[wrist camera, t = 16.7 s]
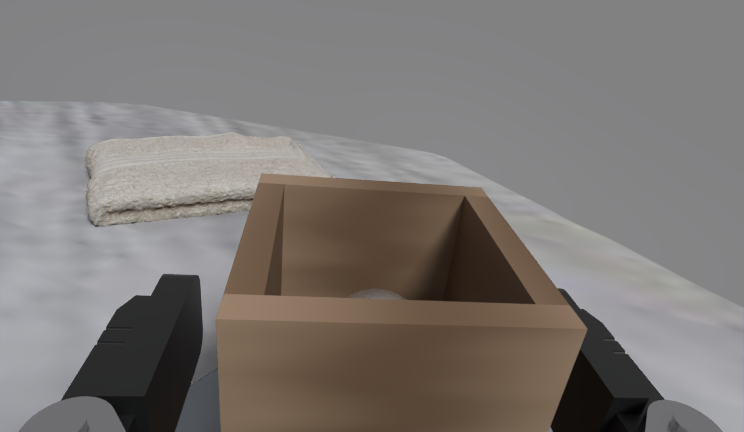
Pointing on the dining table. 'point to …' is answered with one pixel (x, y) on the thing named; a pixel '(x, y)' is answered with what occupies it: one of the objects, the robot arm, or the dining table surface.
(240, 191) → the washcloth
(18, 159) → the dining table surface
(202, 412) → the post plate
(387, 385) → the flanged sleeve
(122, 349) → the robot arm
